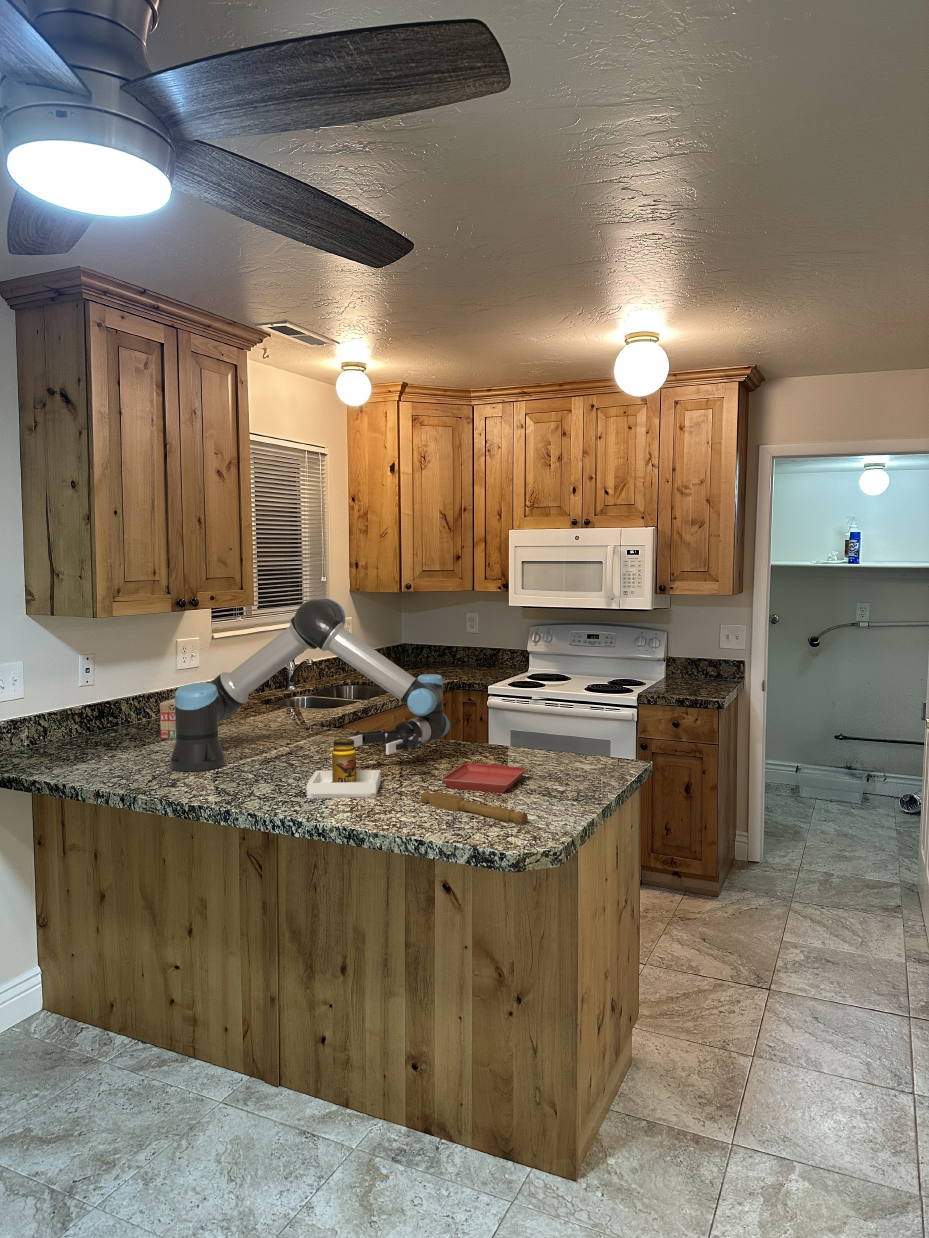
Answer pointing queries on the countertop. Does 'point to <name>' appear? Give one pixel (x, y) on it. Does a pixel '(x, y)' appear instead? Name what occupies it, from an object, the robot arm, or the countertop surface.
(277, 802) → the countertop surface
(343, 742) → the condiment
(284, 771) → the countertop surface
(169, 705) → the stack of blocks
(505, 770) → the plant saucer
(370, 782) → the tray
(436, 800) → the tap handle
